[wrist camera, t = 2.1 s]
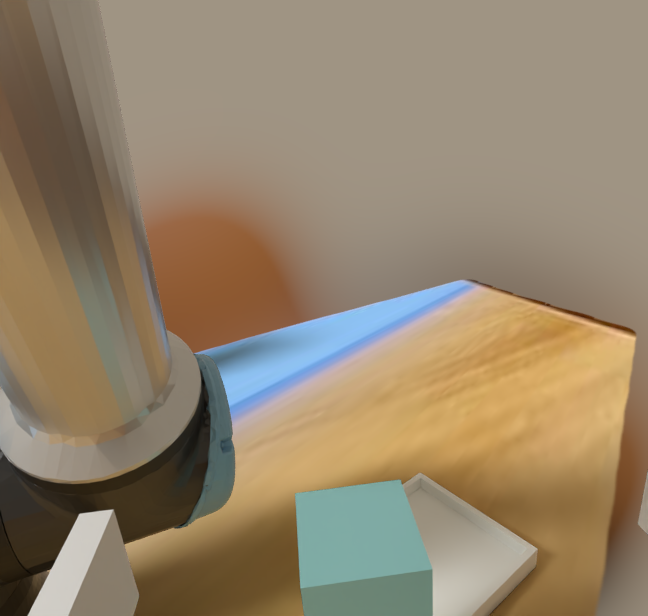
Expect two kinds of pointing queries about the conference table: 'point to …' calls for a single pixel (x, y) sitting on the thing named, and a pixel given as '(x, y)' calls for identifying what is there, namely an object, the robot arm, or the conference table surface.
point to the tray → (466, 551)
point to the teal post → (362, 553)
